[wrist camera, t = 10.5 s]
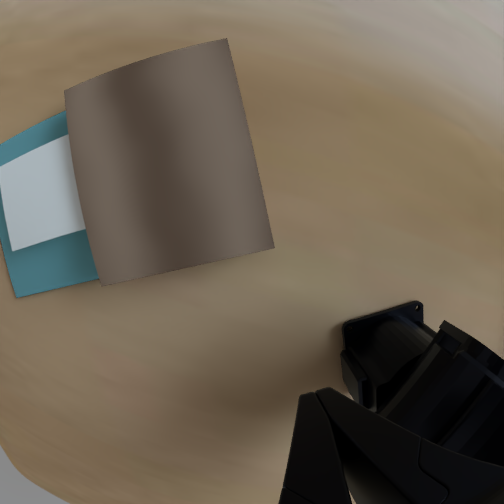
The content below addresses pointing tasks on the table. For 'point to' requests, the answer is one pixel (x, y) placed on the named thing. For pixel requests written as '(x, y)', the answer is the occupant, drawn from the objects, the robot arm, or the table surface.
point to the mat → (52, 251)
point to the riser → (166, 164)
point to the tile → (41, 195)
